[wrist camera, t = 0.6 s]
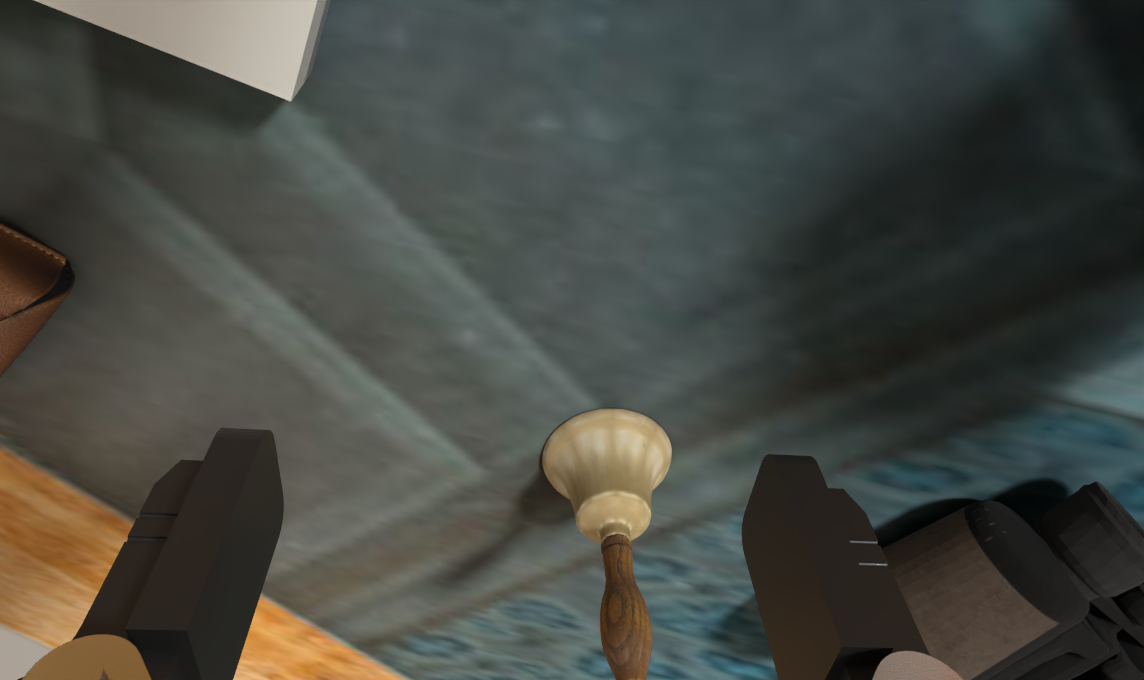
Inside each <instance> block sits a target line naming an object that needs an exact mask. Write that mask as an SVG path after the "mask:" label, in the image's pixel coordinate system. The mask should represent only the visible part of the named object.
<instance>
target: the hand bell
mask: <svg viewBox="0 0 1144 680" xmlns="http://www.w3.org/2000/svg"><path fill="white" fill-rule="evenodd" d="M671 458H672V448H671V444H670V441H669V438H668V436H667V435H666V433H665V432H664V430H663V429H662V428H661V427H660V426H659V425H658V424H657V423H656V422H654V421H653V420H651V419H650V418H648V417H646V416H644V415H642V414H640V413H637V412H633V411H629V410H625V409H598V410H593V411H588V412H585V413H582V414H579V415H577V416H575V417H573V418H571V419H569V420H567V421H566V422H564V423H563V424H562V425H560V426H559V427H558V428H557V429H556V430H555V431H554V432H553V433H552V434H551V436H550V437H549V438H548V440H547V441H546V444H545V447H544V450H543V455H542V465H543V469H544V472H545V475H546V477H547V478H548V480H549V482H550V483H551V484H552V486H553V487H554V488H555V489H556V490H557V491H558V492H559V493H560V494H562V495H563V496H565V497H566V498H568V499H570V501H571V503H572V506H573V510H574V514H575V520H576V524H577V526H578V528H579V530H580V531H581V532H582V533H583V534H584V535H585V536H586V537H587V538H589V539H590V540H592V541H595V542H597V543H601V551H602V554H603V562H604V568H605V576H606V586H605V591H604V595H603V599H602V603H601V611H600V632H601V641H602V646H603V650H604V653H605V656H606V658H607V661H608V663H609V666H610V668H611V670H612V672H613V674H614V676H615V678H616V680H646V675H647V670H648V666H649V661H650V656H651V650H652V631H651V624H650V619H649V614H648V610H647V607H646V604H645V601H644V599H643V597H642V595H641V593H640V591H639V589H638V587H637V585H636V582H635V579H634V574H633V562H632V552H631V551H632V545H631V540H633V539H635V538H637V537H638V536H640V535H641V534H642V533H643V532H644V531H645V530H646V528H647V527H648V525H649V523H650V518H651V494H652V491H653V490H654V489H655V488H656V487H657V486H658V485H659V484H660V483H661V481H662V480H663V479H664V477H665V475H666V473H667V471H668V469H669V466H670V464H671Z"/></svg>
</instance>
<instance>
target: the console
mask: <svg viewBox="0 0 1144 680" xmlns="http://www.w3.org/2000/svg"><path fill="white" fill-rule="evenodd" d="M34 1H37V2H39V3H42V4H44V5H47V6H49V7H52V8H55V9H57V10H60V11H62V12H65V13H67V14H70V15H72V16H75V17H77V18H80V19H82V20H85V21H88V22H90V23H93V24H95V25H98V26H100V27H103V28H105V29H108V30H110V31H113V32H115V33H118V34H121V35H123V36H126V37H128V38H131V39H133V40H136V41H138V42H141V43H143V44H146V45H148V46H151V47H154V48H156V49H159V50H161V51H164V52H166V53H169V54H171V55H174V56H176V57H179V58H181V59H184V60H186V61H189V62H192V63H194V64H197V65H199V66H202V67H204V68H207V69H209V70H212V71H214V72H217V73H219V74H222V75H225V76H227V77H230V78H232V79H235V80H237V81H240V82H242V83H245V84H247V85H250V86H252V87H255V88H258V89H260V90H263V91H265V92H268V93H270V94H273V95H275V96H278V97H280V98H283V99H285V100H288V101H292V99H293V98H294V97H295V95H296V94H297V92H298V91H299V89H300V88H301V87H302V85H303V84H304V82H305V81H306V80H307V78H308V77H309V75H310V74H311V72H312V69H313V66H314V62H315V58H316V54H317V51H318V47H319V43H320V40H321V36H322V32H323V29H324V25H325V21H326V17H327V14H328V10H329V6H330V3H331V0H34Z"/></svg>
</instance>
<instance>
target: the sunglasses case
mask: <svg viewBox="0 0 1144 680" xmlns="http://www.w3.org/2000/svg"><path fill="white" fill-rule="evenodd" d="M74 282H75V275H74V272H73V270H72V268H71V265H70V263H69V262H68V260H67V259H66V258H65V256H63V255H62V254H61V253H59V252H58V251H56V250H54V249H52V248H50V247H48V246H46V245H45V244H43V243H41V242H39V241H38V240H36V239H34V238H32V237H30V236H29V235H27V234H25V233H23V232H22V231H20V230H18V229H16V228H14V227H12V226H10V225H8V224H6V223H4V222H2V221H0V376H1V375H2V374H3V373H4V372H5V370H6V369H7V368H8V367H9V366H10V365H11V363H12V362H13V361H14V360H15V359H16V358H17V357H18V355H19V354H20V353H21V352H22V351H23V350H24V349H25V347H26V346H27V345H28V344H29V342H30V341H31V340H32V339H33V338H34V337H35V335H36V334H37V333H38V332H39V331H40V330H41V328H42V327H43V326H44V325H45V323H46V322H47V321H48V319H50V317H51V316H52V314H53V313H54V312H55V311H56V309H57V308H58V307H59V306H60V304H61V303H62V301H63V300H64V299H65V297H66V296H67V295H68V294H69V293H70V291H71V289H72V287H73V285H74Z"/></svg>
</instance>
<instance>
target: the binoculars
mask: <svg viewBox="0 0 1144 680" xmlns="http://www.w3.org/2000/svg"><path fill="white" fill-rule="evenodd" d="M882 550H883V553H884V555H885V557H886V559H887V561H888V564H887V565H888V568H891V570H892V573H893V575H894V577H895V579H896V581H897V584H898V586H899V588H900V590H901V593H902V595H903V597H904V599H905V601H906V604H907V606H908V608H909V610H910V613H911V615H912V617H913V619H914V621H915V624H916V626H917V628H918V630H919V633H920V635H921V637H922V639H923V641H924V644H925V646H926V648H927V650H928V652H929V654H930V656H931V657H933V658H935V659H938V660H940V661H941V662H943V663H944V664H946V665H947V666H949V667H950V668H951V669H952V670H954V671H955V672H956V673H957V674H958V675H959V676H960V677H961V678H962V679H963V680H1144V530H1143V529H1142V528H1141V527H1140V525H1139V524H1138V523H1137V522H1136V521H1135V520H1134V519H1133V517H1132V516H1131V515H1130V514H1129V513H1128V512H1127V511H1126V510H1125V509H1124V508H1123V506H1122V505H1121V504H1120V503H1119V502H1118V501H1117V500H1116V499H1115V498H1114V497H1113V496H1112V495H1111V494H1110V493H1109V492H1108V491H1107V490H1106V489H1105V488H1104V487H1103V486H1102V485H1101V484H1100V483H1099V482H1094V483H1092V484H1090V485H1084V486H1083V487H1081V488H1080V489H1079V490H1078V491H1077V492H1076V493H1074V494H1073V495H1071V496H1070V497H1068V498H1067V499H1065V500H1063V501H1062V502H1060V503H1059V504H1057V505H1056V506H1054V507H1053V508H1051V509H1050V510H1048V511H1047V512H1045V513H1044V515H1043V516H1042V518H1041V520H1040V523H1039V524H1037V525H1036V526H1035V527H1034V526H1033V525H1032V524H1031V523H1030V522H1028V521H1027V520H1026V519H1025V518H1024V517H1022V516H1021V515H1019V514H1018V513H1016V512H1015V511H1013V510H1012V509H1010V508H1008V507H1007V506H1005V505H1003V504H1001V503H999V502H995V501H992V500H984V501H979V502H974V503H972V504H970V505H968V506H966V507H964V508H962V509H960V510H958V511H956V512H954V513H952V514H950V515H948V516H946V517H944V518H942V519H940V520H938V521H936V522H934V523H932V524H930V525H928V526H926V527H924V528H922V529H920V530H918V531H916V532H914V533H912V534H910V535H908V536H906V537H904V538H902V539H900V540H898V541H896V542H894V543H892V544H890V545H888V546H886V547H884V548H882Z"/></svg>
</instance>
